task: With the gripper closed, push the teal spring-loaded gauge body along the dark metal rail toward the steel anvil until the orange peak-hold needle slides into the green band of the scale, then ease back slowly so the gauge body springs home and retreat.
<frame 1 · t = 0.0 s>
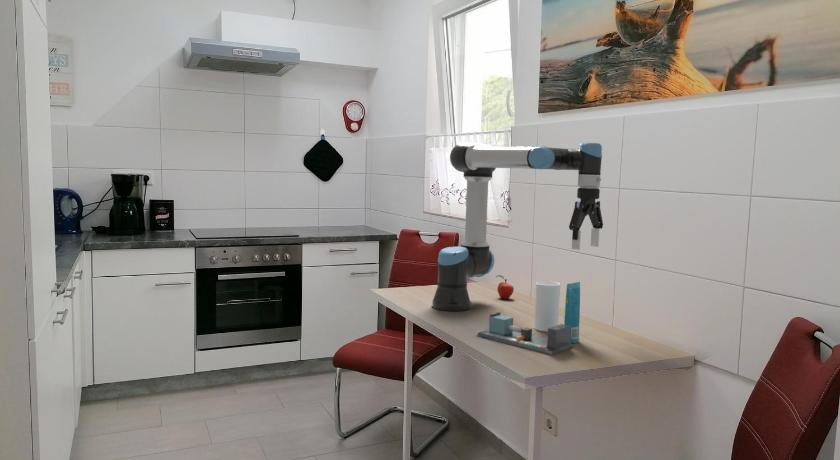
hand: (585, 247, 218), 28 cm above the table, fingers open, 13 cm apart
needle: (523, 334, 196), point 3 cm above the table, slide at 0.0 cm
tube: (570, 341, 200), on the table
gauge body: (507, 324, 202), point 4 cm above the table, slide at 0.0 cm
cup: (545, 329, 215), on the table
apple: (503, 299, 264), on the table
rail base: (523, 341, 198), on the table
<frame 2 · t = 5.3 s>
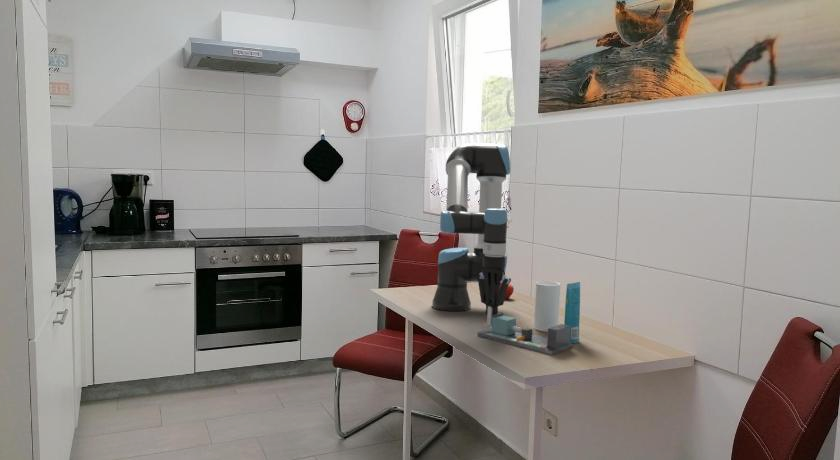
hand: (491, 325, 206), 3 cm above the table, fingers closed
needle: (523, 334, 196), point 3 cm above the table, slide at 0.1 cm, touching gauge body
gauge body: (510, 325, 201), point 4 cm above the table, slide at 1.1 cm, touching gripper, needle
everything else where it was.
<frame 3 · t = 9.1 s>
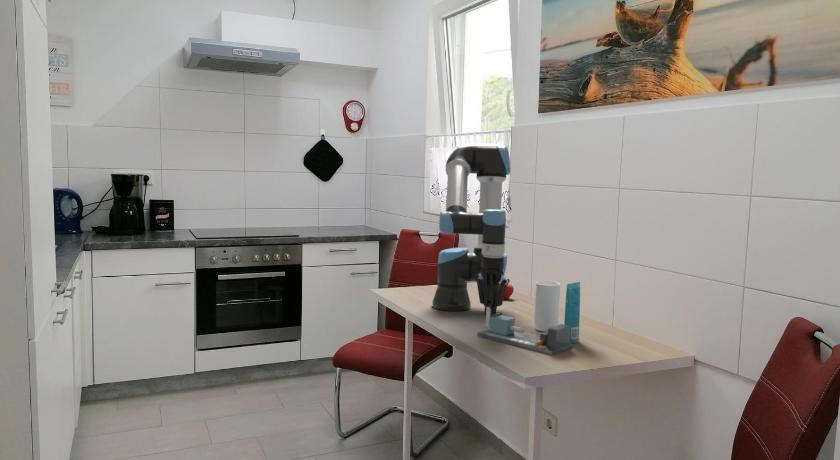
hand: (489, 325, 207), 2 cm above the table, fingers closed
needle: (542, 339, 191), point 3 cm above the table, slide at 6.9 cm
gauge body: (508, 325, 202), point 4 cm above the table, slide at 0.6 cm
everything else where it was.
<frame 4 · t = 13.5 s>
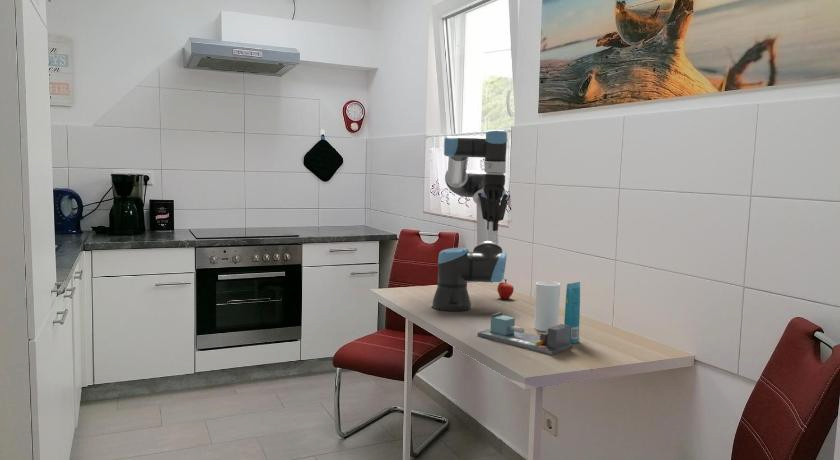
hand: (492, 239, 223), 29 cm above the table, fingers closed
nothing on the table moved.
at the end: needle slide at 6.9 cm; gauge body slide at 0.6 cm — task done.
